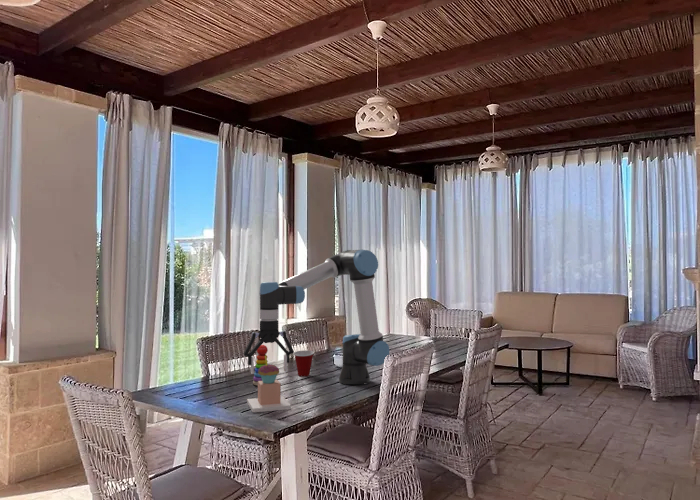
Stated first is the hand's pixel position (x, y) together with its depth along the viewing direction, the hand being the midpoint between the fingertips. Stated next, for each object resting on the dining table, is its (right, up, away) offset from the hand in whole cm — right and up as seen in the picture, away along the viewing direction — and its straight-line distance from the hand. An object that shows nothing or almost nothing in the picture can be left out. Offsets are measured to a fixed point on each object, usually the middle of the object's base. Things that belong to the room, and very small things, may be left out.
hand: (268, 372), depth 213 cm
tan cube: (0, -12, 0) cm, 12 cm away
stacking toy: (-9, -15, +36) cm, 40 cm away
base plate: (0, -14, -1) cm, 14 cm away
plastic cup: (+9, -15, +57) cm, 59 cm away
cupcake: (0, -4, 0) cm, 4 cm away
